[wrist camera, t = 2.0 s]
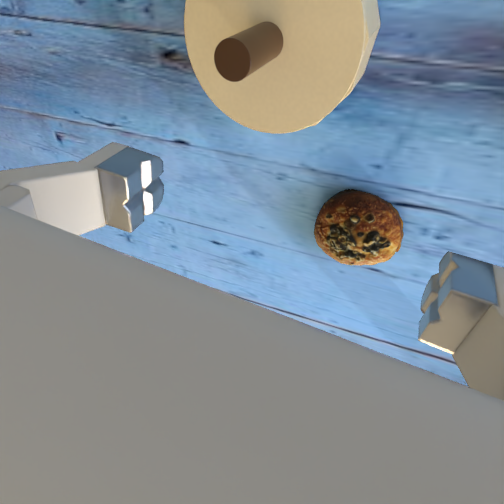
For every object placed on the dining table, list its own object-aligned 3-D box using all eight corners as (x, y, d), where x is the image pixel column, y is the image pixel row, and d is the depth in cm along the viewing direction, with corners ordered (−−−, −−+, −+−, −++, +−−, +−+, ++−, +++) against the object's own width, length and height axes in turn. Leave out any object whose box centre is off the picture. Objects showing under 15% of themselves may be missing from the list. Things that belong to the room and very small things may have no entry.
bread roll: (363, 170, 45) (357, 195, 42) (424, 228, 48) (424, 257, 45) (298, 216, 53) (290, 241, 50) (355, 264, 56) (350, 291, 53)
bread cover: (290, -134, 33) (209, -167, 22) (416, 23, 36) (398, 61, 25) (191, 30, 44) (105, 60, 33) (293, 139, 47) (245, 199, 36)
